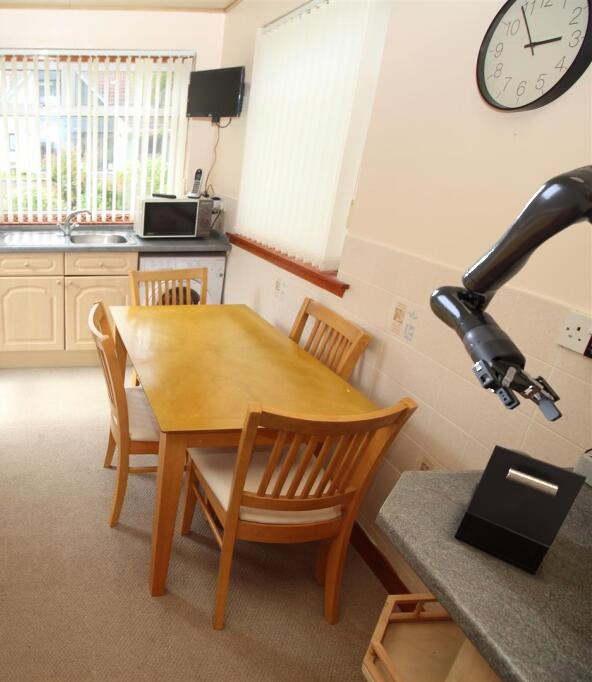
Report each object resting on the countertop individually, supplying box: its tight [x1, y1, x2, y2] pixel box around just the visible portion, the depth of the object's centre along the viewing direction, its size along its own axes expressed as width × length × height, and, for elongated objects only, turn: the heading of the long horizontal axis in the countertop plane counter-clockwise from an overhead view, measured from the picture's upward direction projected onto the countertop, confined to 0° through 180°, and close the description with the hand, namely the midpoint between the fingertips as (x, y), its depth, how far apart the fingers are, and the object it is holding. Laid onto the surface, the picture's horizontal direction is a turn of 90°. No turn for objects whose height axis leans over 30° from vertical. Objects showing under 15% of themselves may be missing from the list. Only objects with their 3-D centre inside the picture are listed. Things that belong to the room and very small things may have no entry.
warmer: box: [454, 482, 550, 576], centre depth 82 cm, size 12×11×6 cm
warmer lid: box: [467, 444, 587, 548], centre depth 74 cm, size 12×11×5 cm
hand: (535, 412), depth 87 cm, fingers open, 8 cm apart
